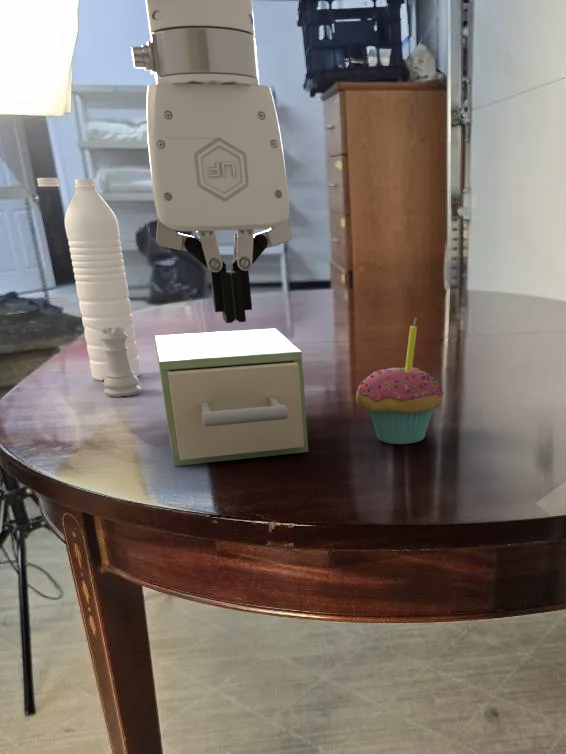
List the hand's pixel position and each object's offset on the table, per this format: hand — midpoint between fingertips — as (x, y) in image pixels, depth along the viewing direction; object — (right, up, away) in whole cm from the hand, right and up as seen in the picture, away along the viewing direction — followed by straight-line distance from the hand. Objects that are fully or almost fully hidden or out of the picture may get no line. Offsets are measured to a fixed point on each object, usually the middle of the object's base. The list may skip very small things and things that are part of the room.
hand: (234, 319), depth 65 cm
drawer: (-2, -9, +10) cm, 14 cm away
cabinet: (-3, -8, +14) cm, 17 cm away
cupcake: (+14, -8, +14) cm, 21 cm away
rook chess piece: (-21, 0, +33) cm, 39 cm away
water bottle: (-27, +4, +42) cm, 50 cm away
